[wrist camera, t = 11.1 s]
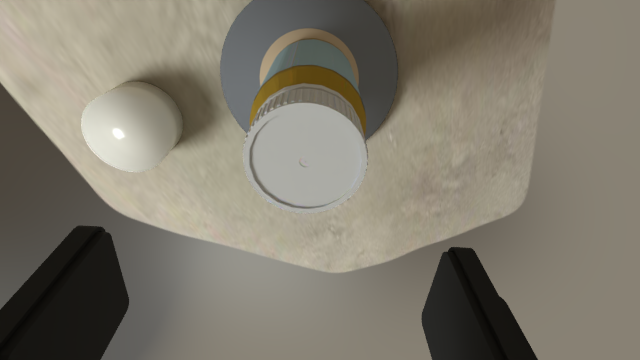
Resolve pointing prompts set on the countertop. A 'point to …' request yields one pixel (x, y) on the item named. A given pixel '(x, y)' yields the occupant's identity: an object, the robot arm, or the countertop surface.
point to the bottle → (307, 130)
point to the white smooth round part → (132, 126)
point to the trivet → (303, 23)
